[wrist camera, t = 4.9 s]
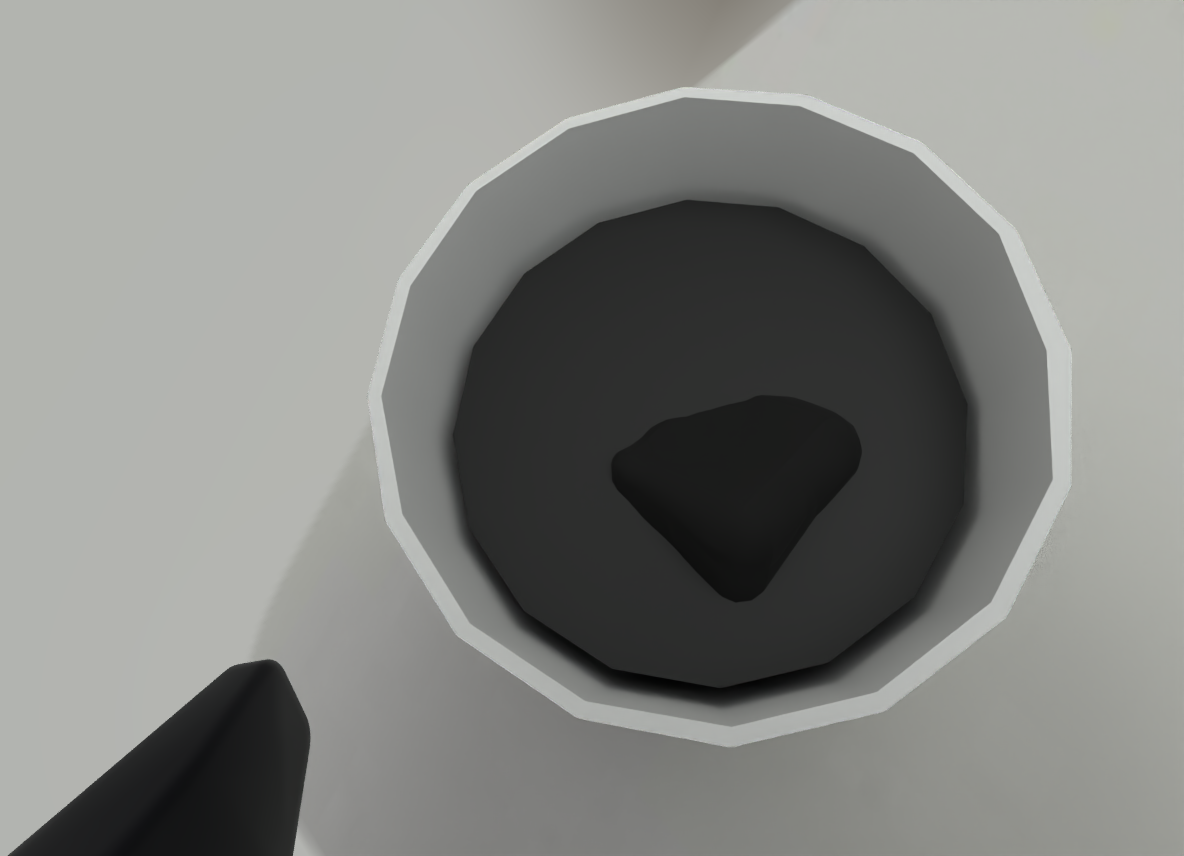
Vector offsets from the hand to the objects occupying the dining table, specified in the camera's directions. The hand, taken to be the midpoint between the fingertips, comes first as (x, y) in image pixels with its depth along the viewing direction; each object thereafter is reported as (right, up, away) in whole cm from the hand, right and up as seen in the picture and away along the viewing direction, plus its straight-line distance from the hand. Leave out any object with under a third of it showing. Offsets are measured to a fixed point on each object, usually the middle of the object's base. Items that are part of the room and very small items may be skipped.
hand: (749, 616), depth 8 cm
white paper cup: (+1, -1, +10) cm, 10 cm away
